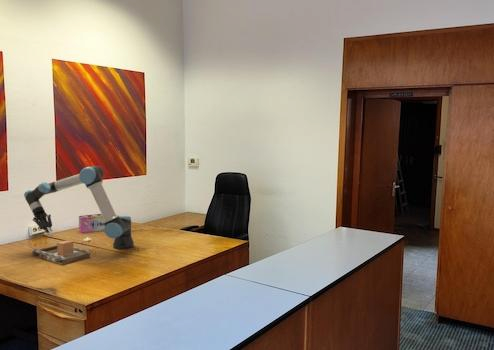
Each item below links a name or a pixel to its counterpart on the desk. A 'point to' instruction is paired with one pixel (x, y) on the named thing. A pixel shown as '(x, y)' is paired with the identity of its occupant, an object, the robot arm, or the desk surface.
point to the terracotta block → (65, 247)
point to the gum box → (91, 223)
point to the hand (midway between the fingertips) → (51, 235)
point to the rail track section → (53, 255)
